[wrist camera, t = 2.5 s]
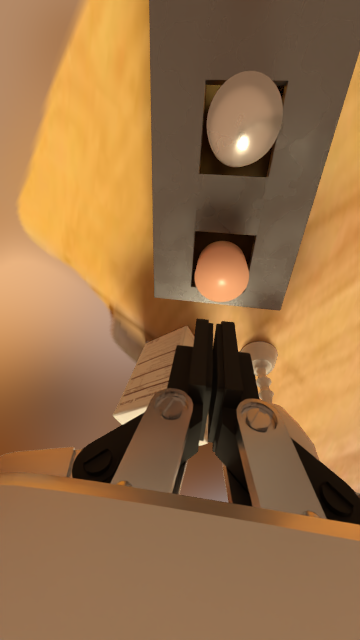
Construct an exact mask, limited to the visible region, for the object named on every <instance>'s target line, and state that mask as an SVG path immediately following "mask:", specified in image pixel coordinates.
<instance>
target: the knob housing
mask: <svg viewBox="0 0 360 640" xmlns="http://www.w3.org/2000/svg"><path fill="white" fill-rule="evenodd" d="M149 10H150V70H151V130H152V189H153V249H154V297H155V298H165V299H174V300H184V301H194V302H203V303H213V304H222V305H232V306H242V307H251V308H261V309H271V310H280V309H281V306H282V303H283V300H284V296H285V293H286V290H287V286H288V283H289V280H290V277H291V273H292V270H293V267H294V264H295V260H296V257H297V254H298V251H299V247H300V244H301V241H302V237H303V234H304V231H305V228H306V224H307V221H308V218H309V215H310V211H311V208H312V205H313V201H314V198H315V195H316V192H317V188H318V185H319V182H320V179H321V175H322V172H323V169H324V166H325V162H326V159H327V156H328V152H329V149H330V146H331V143H332V139H333V136H334V133H335V130H336V126H337V123H338V120H339V117H340V113H341V110H342V107H343V103H344V100H345V97H346V94H347V90H348V87H349V84H350V81H351V77H352V74H353V71H354V67H355V64H356V61H357V58H358V54H359V51H360V0H149ZM244 71H257V72H260V73H263V74H265V75H266V76H268V77H269V78H270V79H271V80H272V81H273V82H274V83H275V85H276V86H285V87H284V92H283V97H282V105H283V117H282V124H281V127H280V131H279V133H278V136H277V138H276V140H275V142H274V144H273V147H272V152H271V157H270V162H269V167H268V172H267V177H252V176H232V175H213V174H200V164H201V151H202V137H203V124H204V110H205V96H206V85H223V84H224V83H225V82H226V81H227V80H228V79H229V78H231V77H232V76H234V75H236V74H238V73H241V72H244ZM196 231H203V232H217V233H230V234H243V235H255V236H254V241H253V246H252V251H251V256H250V261H249V266H248V270H249V281H248V284H247V287H246V288H245V290H244V291H243V293H242V294H241V295H239V296H238V297H237V298H235V299H233V300H230V301H226V302H215V301H212V300H209V299H207V298H206V297H204V296H203V295H202V294H201V293H200V292H199V290H198V289H197V287H196V284H195V271H196V270H193V259H194V246H195V232H196Z"/></svg>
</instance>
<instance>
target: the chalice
mask: <svg viewBox="0 0 360 640" xmlns="http://www.w3.org/2000/svg"><path fill="white" fill-rule="evenodd" d="M240 352H245V353H250V355H251V359H252V364H253V369H254V374H255V375H257V376H258V379H257V381H256V384H257V386H258V387H260V389H261V391H260V393H259V397H260V398H261V399H262V400H263V401H265V402H267V403H269V404H270V405H272V406H273V407H274V408H275V409H276V410H277V411H278V412H279V414H280V415H281V417H282V419H283V422H284V424H285V426H286V428H287V431H288V433H289V435H290V437H291V438H292V439H294V440H295V441H296V442H297V443H298V444H300V445H301V446H302V447H303V448H304V449H306V450H307V451H308V452H309V453H310V454H312V455H313V456H314V457H315V458H316V459H318V460H319V458H318V455H317V452H316V449H315V446H314V444H313V443H312V441H311V440H310V439H309V437H308V436H307V435H306V433H305V432H304V431H303V429H302V428H301V427H300V425H299V424H298V423H297V422H296V421H295V420H294V419H293V418H292V417H291V416H290V415H289V414H288V413H287V412H286V411H285V410H284V409H283V408H282V407H281V406H279V405H276V404H273V403H272V397H273V395H274V394H273V392H272V391H271V390H270V389H269V385H270V384H271V380H270V379H269V378H267V376H266V375H267V374H269V373H270V372H271V371H272V370H273V368H274V366H275V363H276V360H277V356H278V354H277V350H276V349H275V347H274V346H272V345H271V344H269V343H266V342H259V341H257V342H252V343H250V344H248V345H246V346H245V347H243V348H242V350H241V351H240Z"/></svg>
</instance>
